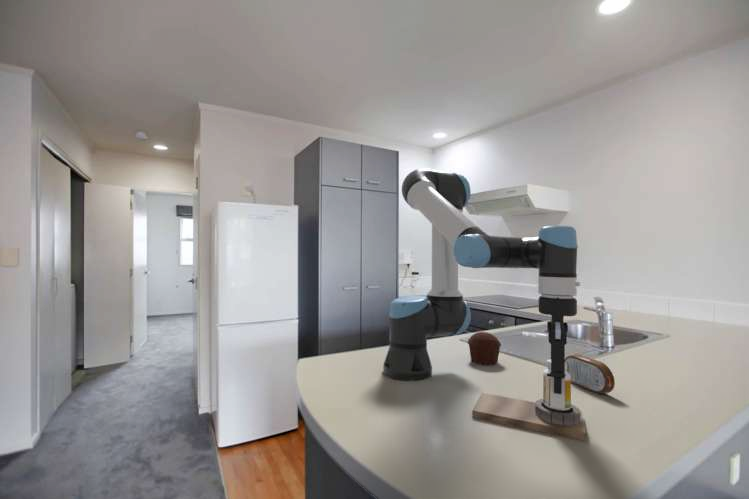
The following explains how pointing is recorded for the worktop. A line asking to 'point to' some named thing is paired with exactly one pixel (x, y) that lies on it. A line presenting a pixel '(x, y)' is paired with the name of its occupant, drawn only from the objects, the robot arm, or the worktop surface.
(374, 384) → the worktop surface
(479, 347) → the muffin
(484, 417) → the board
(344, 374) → the worktop surface
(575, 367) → the tin
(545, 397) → the supplement bottle
